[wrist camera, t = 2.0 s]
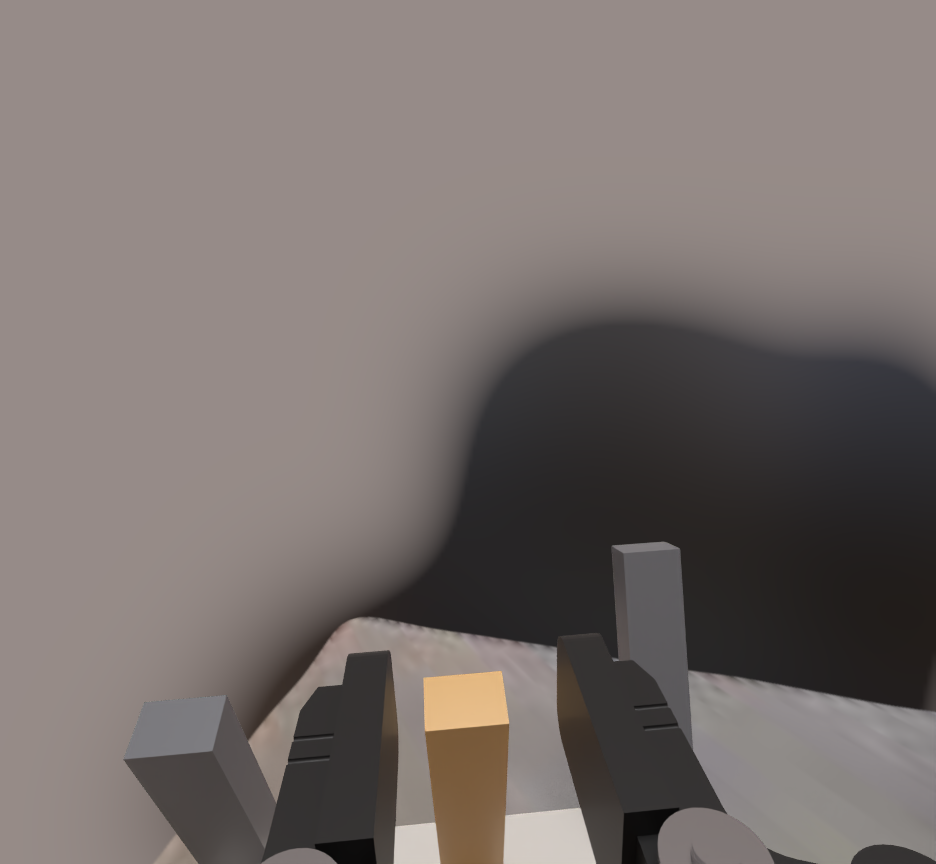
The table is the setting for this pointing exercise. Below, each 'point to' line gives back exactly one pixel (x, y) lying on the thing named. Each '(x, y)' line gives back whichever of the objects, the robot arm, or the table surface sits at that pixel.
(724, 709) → the table surface
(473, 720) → the lever middle
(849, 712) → the table surface
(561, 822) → the lever base
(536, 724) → the table surface
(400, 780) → the table surface
